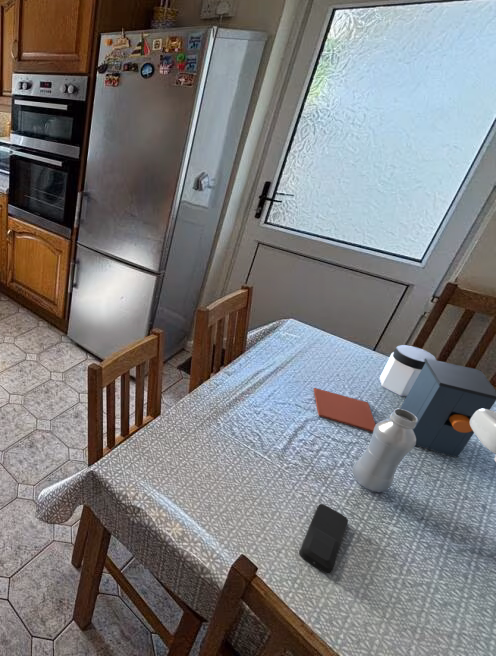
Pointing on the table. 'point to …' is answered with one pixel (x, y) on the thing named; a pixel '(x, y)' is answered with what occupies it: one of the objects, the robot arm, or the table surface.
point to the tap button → (460, 423)
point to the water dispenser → (446, 403)
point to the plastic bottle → (386, 451)
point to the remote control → (324, 538)
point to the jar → (403, 369)
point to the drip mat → (344, 409)
